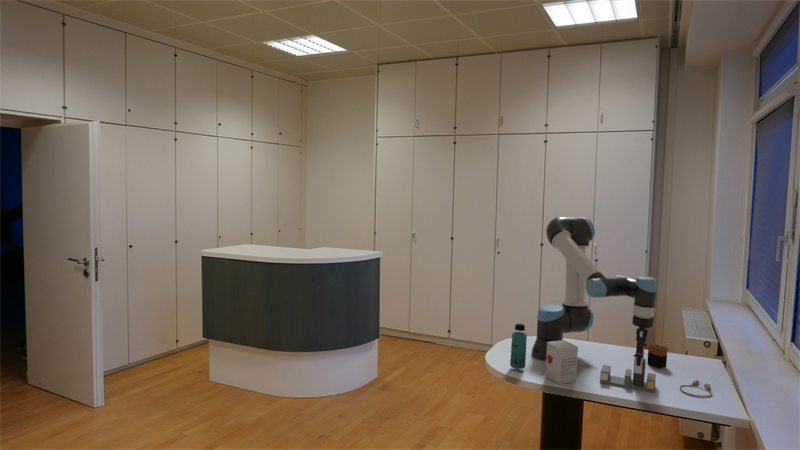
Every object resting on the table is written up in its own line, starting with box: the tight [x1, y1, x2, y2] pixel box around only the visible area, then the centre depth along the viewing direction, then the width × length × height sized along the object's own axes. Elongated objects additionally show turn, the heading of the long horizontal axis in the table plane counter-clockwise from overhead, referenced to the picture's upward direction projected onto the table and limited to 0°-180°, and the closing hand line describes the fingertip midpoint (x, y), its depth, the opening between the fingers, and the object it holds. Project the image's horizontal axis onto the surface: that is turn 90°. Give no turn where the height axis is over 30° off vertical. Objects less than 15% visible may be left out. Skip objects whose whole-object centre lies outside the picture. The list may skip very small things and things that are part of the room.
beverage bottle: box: [509, 323, 528, 370], centre depth 226 cm, size 6×7×20 cm
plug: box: [632, 357, 646, 387], centre depth 211 cm, size 4×4×11 cm
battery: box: [647, 342, 668, 369], centre depth 236 cm, size 4×7×10 cm, turn 27°
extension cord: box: [679, 379, 714, 398], centre depth 210 cm, size 12×16×2 cm
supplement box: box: [544, 339, 579, 385], centre depth 217 cm, size 9×9×15 cm
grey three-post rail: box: [599, 364, 657, 394], centre depth 213 cm, size 20×8×5 cm, turn 63°
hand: (638, 367), depth 212 cm, fingers open, 13 cm apart
